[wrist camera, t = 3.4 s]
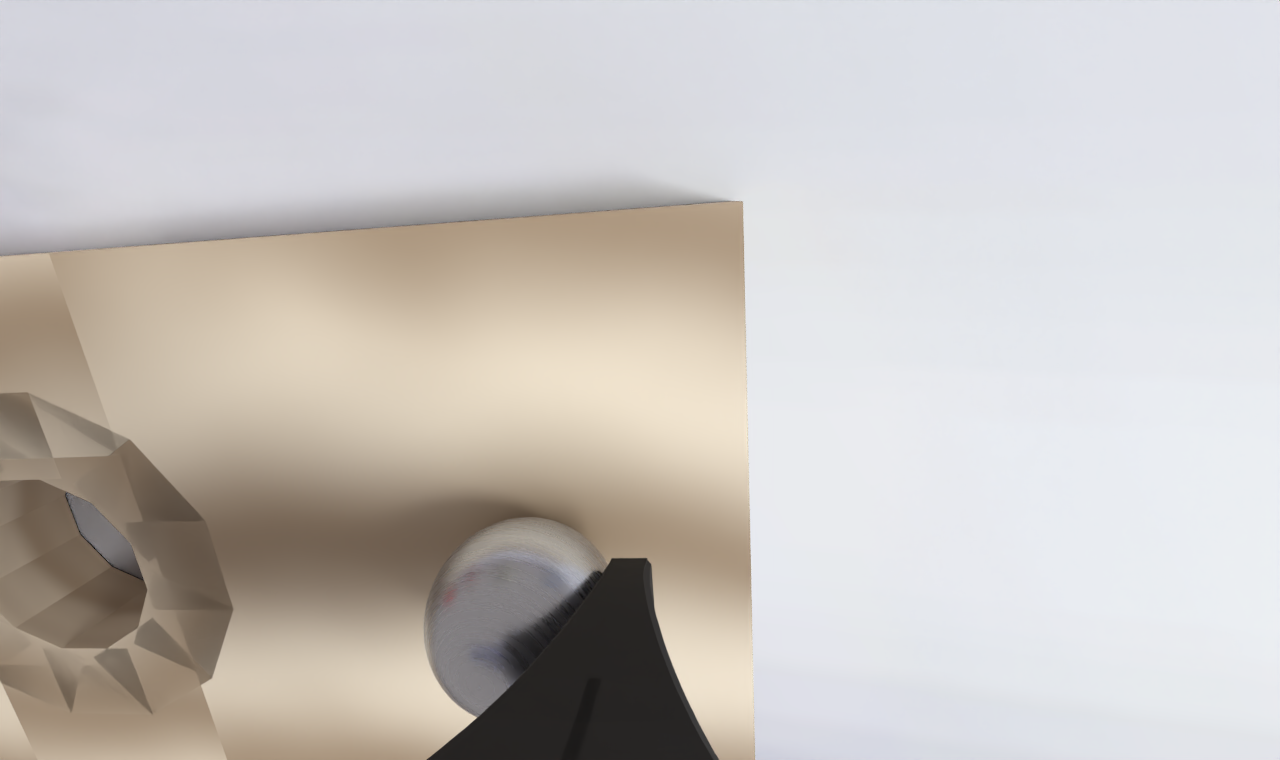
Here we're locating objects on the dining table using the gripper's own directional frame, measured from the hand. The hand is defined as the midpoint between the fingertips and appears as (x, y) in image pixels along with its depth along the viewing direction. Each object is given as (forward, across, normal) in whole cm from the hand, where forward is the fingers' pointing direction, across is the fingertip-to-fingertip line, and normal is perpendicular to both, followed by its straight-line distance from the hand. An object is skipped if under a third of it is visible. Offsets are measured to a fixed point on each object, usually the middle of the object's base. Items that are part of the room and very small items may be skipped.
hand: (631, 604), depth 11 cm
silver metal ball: (0, +2, 0) cm, 2 cm away
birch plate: (+4, +9, 0) cm, 10 cm away
